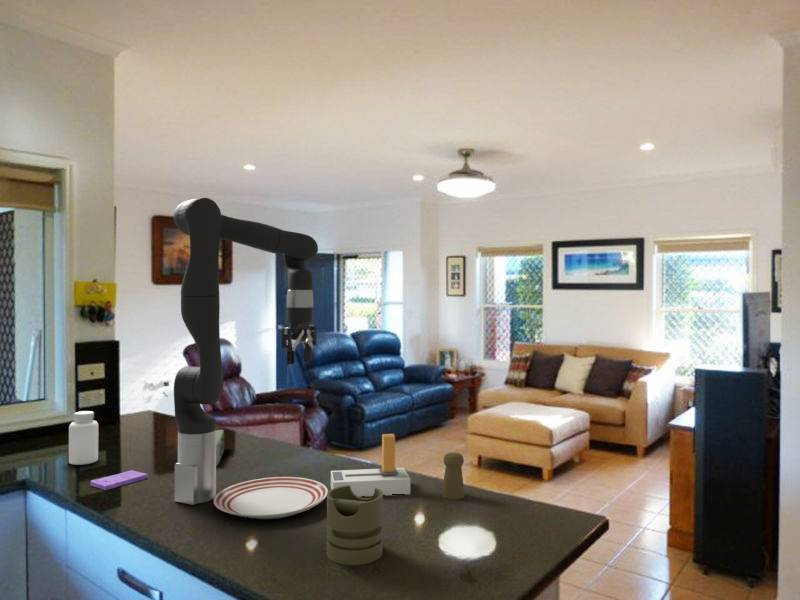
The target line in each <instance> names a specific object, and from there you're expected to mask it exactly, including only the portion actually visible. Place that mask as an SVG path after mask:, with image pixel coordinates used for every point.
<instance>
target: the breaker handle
mask: <svg viewBox="0 0 800 600" xmlns="http://www.w3.org/2000/svg"><path fill="white" fill-rule="evenodd" d="M395 459H396V436H395V434H394V433H382V435H381V467H379V468H378V469H379V472H380V474H381V475H398V472H397V470H396V468H397V467H395V466H396V460H395Z"/></svg>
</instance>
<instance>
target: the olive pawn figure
mask: <svg viewBox="0 0 800 600" xmlns="http://www.w3.org/2000/svg"><path fill="white" fill-rule="evenodd" d="M464 461H465V460H464V456H463V455H462V454H461V453H460V452H447V453H445V454H444V456H443V464H444V466H445V468H444V475H443V480H442V481H443V483H442V488H441V489H442V490H441V497H442V498H443V499H446V500H452V501H453V500H461V499H462V500H463V499H464V498H465V496H466V495H465V494H466V493H465V487H464V485H465V484H464V479H463V467H462V466H463V465H464V463H465V462H464Z"/></svg>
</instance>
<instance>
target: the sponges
mask: <svg viewBox="0 0 800 600" xmlns="http://www.w3.org/2000/svg"><path fill="white" fill-rule="evenodd" d="M148 477H149V476H148V473H145V472H140V471H135V470H132V469H131V470H127V471H124V472H121V473H117V474H113V475H109V476H104V477H100V478H96V479H92V480H90V481H89V482H90V483H89V484H90V487H94V488H97V489H99V490H103V491H109V490H111V489H114V488H118V487H122V486H125V485H129V484H132V483H136V482H140V481H144V480H146V479H147V478H148Z"/></svg>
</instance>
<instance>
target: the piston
mask: <svg viewBox="0 0 800 600" xmlns="http://www.w3.org/2000/svg"><path fill="white" fill-rule="evenodd" d="M383 513H384V496H383V492H382V491H381V490H380V489H378V488H375V492H374V495H373V496H370V497H369V498H367V497H366V498H364V497H358V496H356V495H355V494H354V493H353V492H352V490H351V487H350V485H346V486H340V487H337V488H334V489H332V490H331V489H330V490H328V493H327V497H326V525H327V527H326V556H327V558H328V559H329V561H332V562H334V563H337V564H340V565H347V566H360V565H367V564H370V563H373V562H375V561H377V560H379V559H380V558H381V557H382V556H383V539H384V538H383V536H384V535H383V525H382V524H383V521H384V520H383V519H384V514H383Z"/></svg>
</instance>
